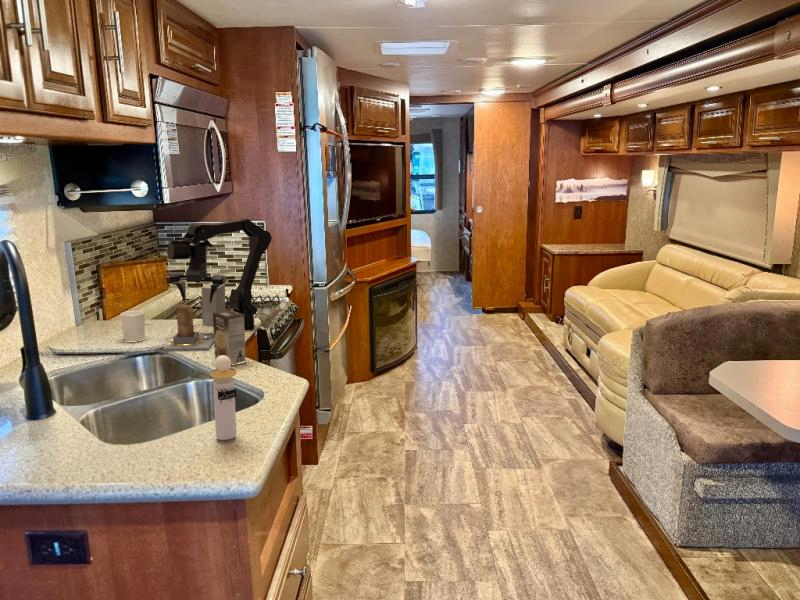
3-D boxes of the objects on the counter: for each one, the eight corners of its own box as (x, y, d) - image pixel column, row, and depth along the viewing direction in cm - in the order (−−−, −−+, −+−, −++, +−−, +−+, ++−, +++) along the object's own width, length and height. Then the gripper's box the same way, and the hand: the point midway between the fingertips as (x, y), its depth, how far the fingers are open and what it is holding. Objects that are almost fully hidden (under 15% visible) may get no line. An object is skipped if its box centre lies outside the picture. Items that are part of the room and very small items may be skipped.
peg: (186, 339, 208) (184, 304, 206) (194, 341, 206) (192, 306, 204) (178, 341, 205) (176, 306, 202) (185, 343, 203) (183, 308, 201)
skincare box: (211, 320, 241) (209, 282, 237) (227, 321, 240) (226, 283, 236) (201, 325, 233) (199, 286, 229) (218, 326, 232) (216, 287, 228)
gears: (217, 334, 217) (217, 326, 217) (208, 347, 202) (208, 338, 201) (177, 334, 216) (177, 326, 215) (165, 348, 200) (165, 339, 199)
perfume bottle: (209, 436, 137) (205, 354, 133) (233, 430, 140) (230, 350, 136) (218, 446, 132) (214, 361, 128) (243, 439, 136) (239, 356, 132)
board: (218, 336, 219) (218, 333, 219) (208, 350, 201) (208, 347, 201) (176, 336, 217) (176, 333, 217) (162, 351, 200) (162, 348, 199)
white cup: (150, 337, 215) (148, 311, 213) (139, 343, 208) (137, 316, 205) (130, 336, 216) (127, 310, 214) (117, 342, 208) (115, 315, 206)
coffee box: (213, 360, 191) (211, 312, 188) (231, 356, 196) (229, 309, 192) (229, 367, 185) (227, 317, 182) (246, 362, 190) (245, 314, 186)
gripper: (164, 259, 202) (164, 304, 205) (220, 263, 204) (219, 307, 207) (173, 256, 213) (173, 299, 216) (226, 259, 215) (225, 302, 218)
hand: (197, 302), depth 214 cm, fingers open, 9 cm apart
